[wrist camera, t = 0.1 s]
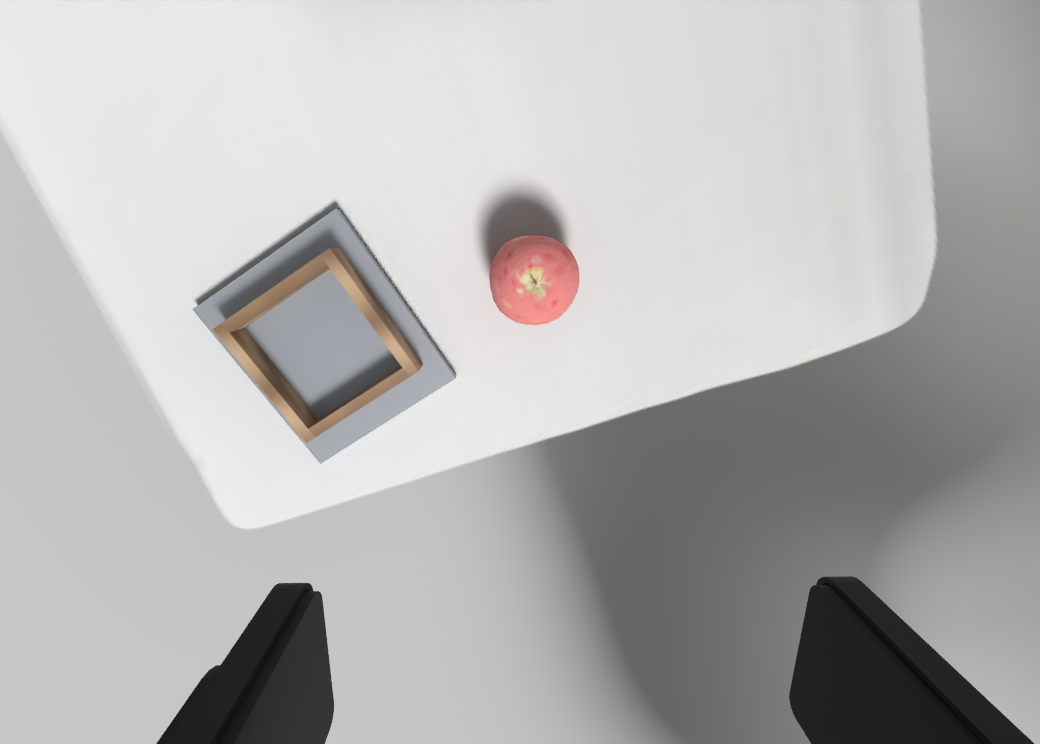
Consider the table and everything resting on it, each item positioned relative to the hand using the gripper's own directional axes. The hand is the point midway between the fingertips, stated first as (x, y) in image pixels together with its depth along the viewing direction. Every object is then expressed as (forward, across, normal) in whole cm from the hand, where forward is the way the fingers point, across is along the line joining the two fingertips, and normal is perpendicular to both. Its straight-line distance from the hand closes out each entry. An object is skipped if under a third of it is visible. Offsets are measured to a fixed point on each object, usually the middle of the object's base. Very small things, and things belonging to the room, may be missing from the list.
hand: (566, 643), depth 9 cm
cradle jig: (+37, +17, +2) cm, 41 cm away
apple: (+37, -1, -4) cm, 38 cm away
